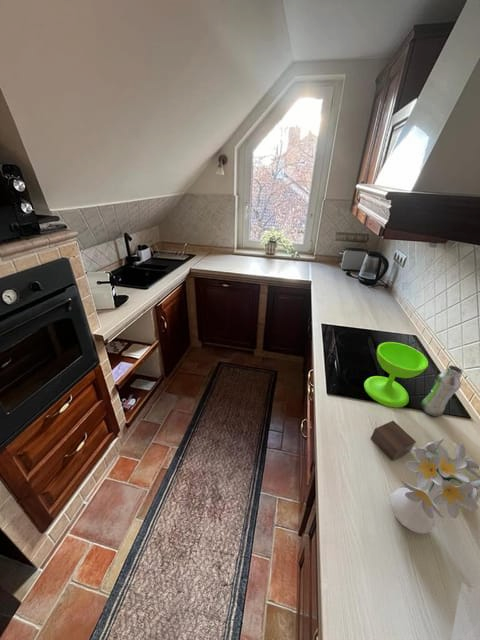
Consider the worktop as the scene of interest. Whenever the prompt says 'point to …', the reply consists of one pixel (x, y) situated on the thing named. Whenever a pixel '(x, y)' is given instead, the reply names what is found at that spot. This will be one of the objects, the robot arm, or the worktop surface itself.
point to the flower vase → (435, 487)
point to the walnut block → (392, 440)
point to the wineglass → (395, 373)
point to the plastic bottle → (442, 391)
